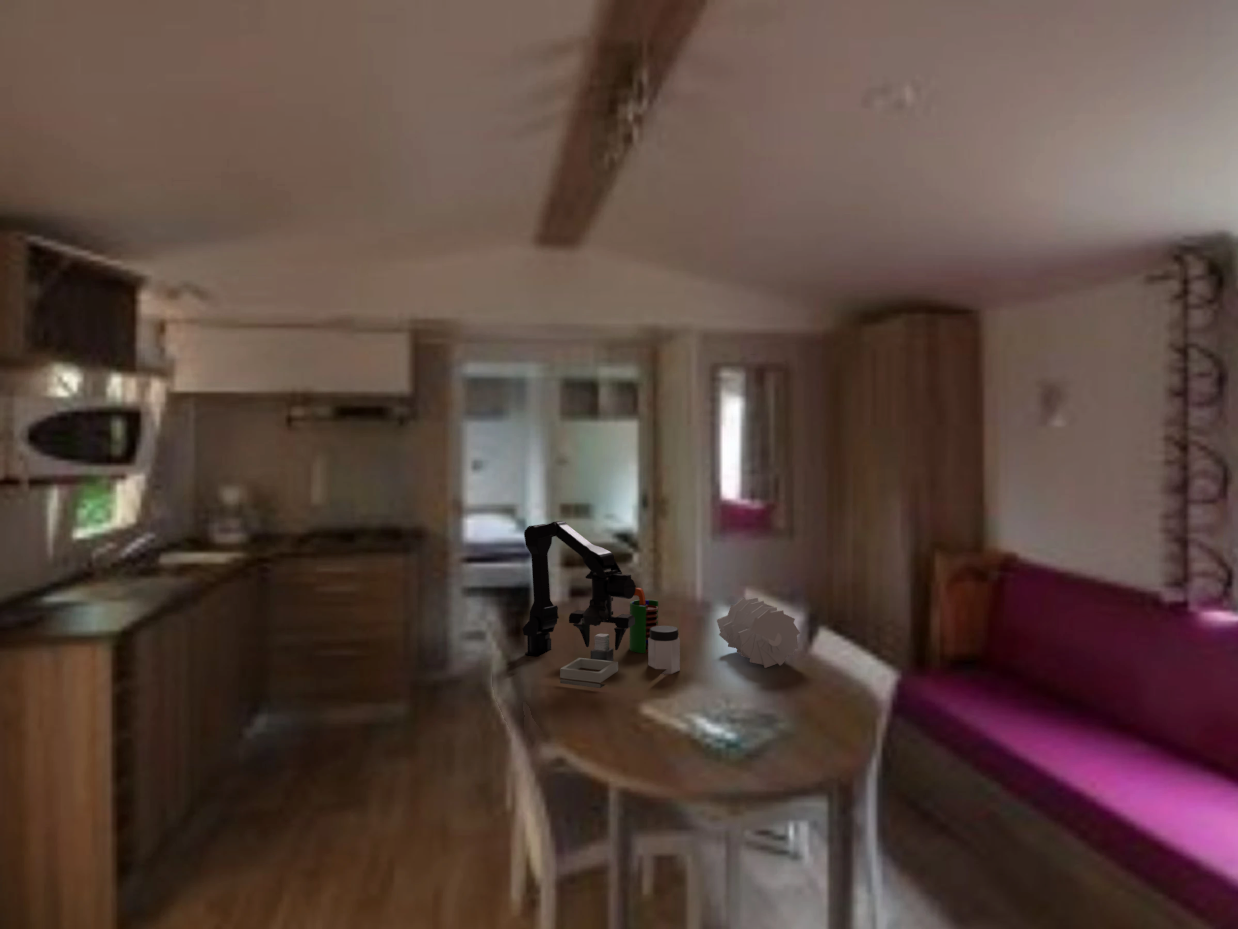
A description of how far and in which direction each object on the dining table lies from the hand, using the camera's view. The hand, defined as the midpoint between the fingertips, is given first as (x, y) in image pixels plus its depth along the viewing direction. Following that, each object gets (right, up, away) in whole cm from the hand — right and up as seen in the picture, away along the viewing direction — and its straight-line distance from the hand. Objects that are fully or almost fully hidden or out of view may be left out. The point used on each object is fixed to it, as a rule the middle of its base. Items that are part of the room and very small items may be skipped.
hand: (601, 648), depth 251 cm
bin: (-3, -6, -12) cm, 14 cm away
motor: (+13, -5, +14) cm, 20 cm away
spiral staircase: (+46, -5, +7) cm, 47 cm away
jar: (+18, -6, -4) cm, 19 cm away
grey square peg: (0, -4, 0) cm, 4 cm away
